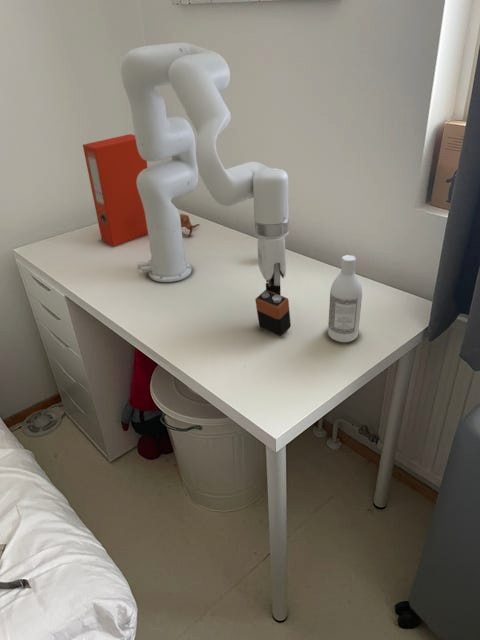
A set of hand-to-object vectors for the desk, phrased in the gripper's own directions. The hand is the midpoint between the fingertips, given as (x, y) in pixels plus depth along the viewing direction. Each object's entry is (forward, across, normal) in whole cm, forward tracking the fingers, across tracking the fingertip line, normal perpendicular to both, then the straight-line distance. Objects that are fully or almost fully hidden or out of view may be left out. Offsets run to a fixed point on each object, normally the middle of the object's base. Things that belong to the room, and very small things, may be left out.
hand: (273, 298), depth 121 cm
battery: (+6, +4, 0) cm, 7 cm away
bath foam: (+7, +10, +14) cm, 19 cm away
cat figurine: (+6, -60, -19) cm, 63 cm away
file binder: (+5, -65, -37) cm, 75 cm away
